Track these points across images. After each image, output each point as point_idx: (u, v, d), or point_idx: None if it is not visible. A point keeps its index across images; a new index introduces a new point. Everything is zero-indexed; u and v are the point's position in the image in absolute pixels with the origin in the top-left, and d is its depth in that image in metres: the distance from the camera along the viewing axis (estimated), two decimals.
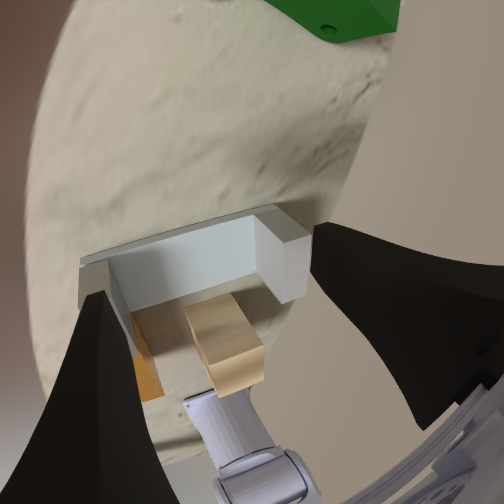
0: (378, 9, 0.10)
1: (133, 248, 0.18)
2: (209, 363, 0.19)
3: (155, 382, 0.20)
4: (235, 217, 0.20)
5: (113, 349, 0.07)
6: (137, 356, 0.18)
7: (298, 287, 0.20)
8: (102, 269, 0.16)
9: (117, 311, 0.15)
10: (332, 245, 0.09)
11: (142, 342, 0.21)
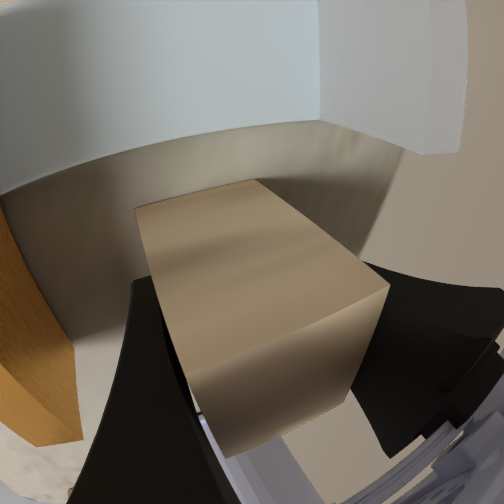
0: None
1: None
2: (186, 364, 0.04)
3: (40, 407, 0.05)
4: None
5: (168, 332, 0.07)
6: None
7: (452, 118, 0.05)
8: None
9: None
10: None
11: (17, 291, 0.06)
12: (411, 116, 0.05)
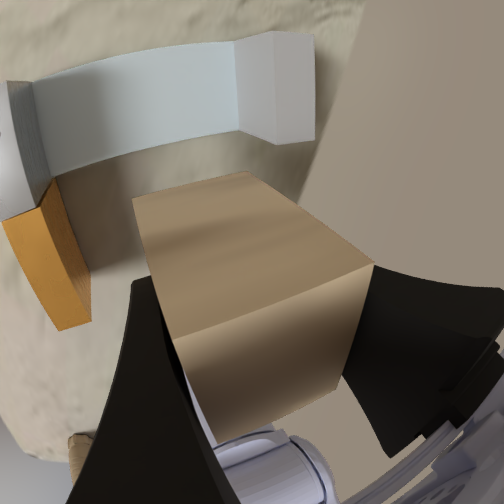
0: None
1: (67, 69, 0.09)
2: (174, 331, 0.04)
3: (71, 288, 0.11)
4: None
5: (167, 332, 0.07)
6: (37, 221, 0.09)
7: (302, 120, 0.12)
8: None
9: (9, 109, 0.06)
10: None
11: (64, 227, 0.12)
12: (270, 124, 0.12)
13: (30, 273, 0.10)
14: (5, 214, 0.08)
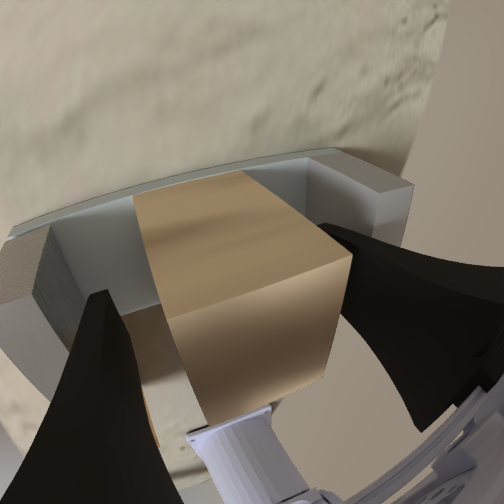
0: None
1: (97, 205, 0.09)
2: (169, 312, 0.05)
3: None
4: (278, 159, 0.11)
5: (117, 348, 0.07)
6: None
7: None
8: (35, 241, 0.07)
9: (50, 326, 0.06)
10: None
11: None
12: None
13: None
14: None
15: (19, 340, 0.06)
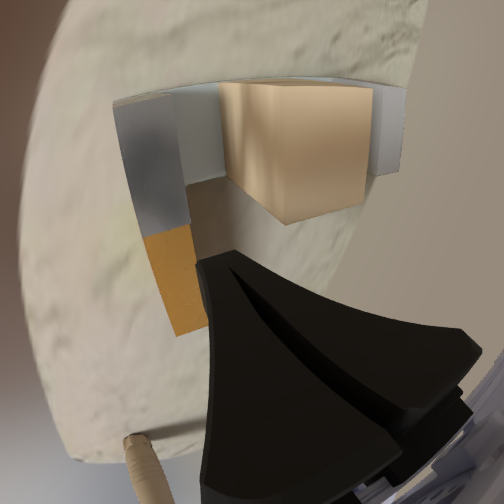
0: None
1: (192, 85, 0.12)
2: (283, 86, 0.08)
3: None
4: None
5: None
6: (184, 235, 0.12)
7: (393, 157, 0.14)
8: (150, 94, 0.10)
9: (174, 125, 0.09)
10: None
11: None
12: (371, 159, 0.14)
13: (164, 284, 0.13)
14: (155, 229, 0.11)
15: (141, 136, 0.09)
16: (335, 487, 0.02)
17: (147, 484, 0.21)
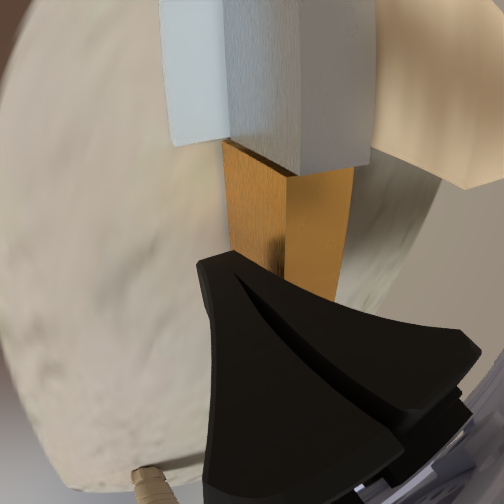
0: None
1: None
2: None
3: (334, 290, 0.09)
4: None
5: None
6: (343, 187, 0.07)
7: None
8: None
9: (372, 4, 0.04)
10: None
11: None
12: None
13: (293, 271, 0.08)
14: (323, 163, 0.06)
15: None
16: (338, 486, 0.02)
17: None
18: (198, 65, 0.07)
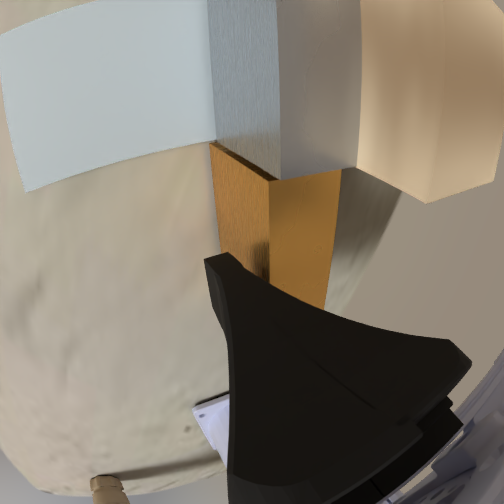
0: None
1: None
2: None
3: (323, 294, 0.09)
4: None
5: None
6: (330, 190, 0.07)
7: None
8: None
9: None
10: (216, 284, 0.08)
11: None
12: None
13: (279, 276, 0.08)
14: (306, 166, 0.06)
15: None
16: (362, 470, 0.02)
17: None
18: (32, 106, 0.06)
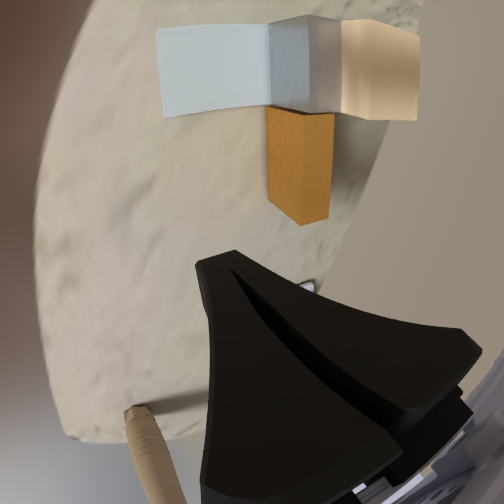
0: None
1: None
2: (369, 20, 0.09)
3: (329, 184, 0.16)
4: None
5: None
6: (329, 123, 0.14)
7: None
8: None
9: (340, 40, 0.11)
10: None
11: None
12: None
13: (307, 164, 0.15)
14: (319, 108, 0.13)
15: (322, 39, 0.11)
16: (335, 487, 0.02)
17: (149, 459, 0.21)
18: (178, 72, 0.13)
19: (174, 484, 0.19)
